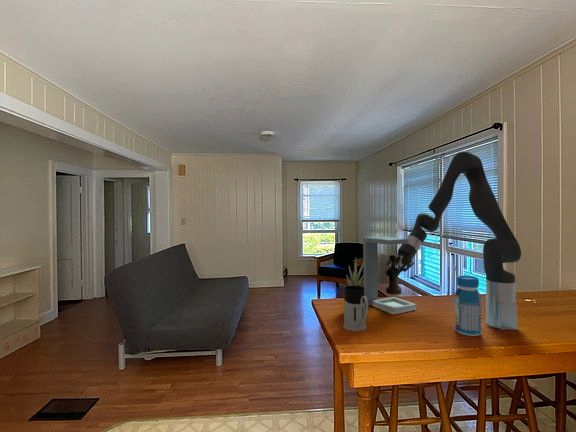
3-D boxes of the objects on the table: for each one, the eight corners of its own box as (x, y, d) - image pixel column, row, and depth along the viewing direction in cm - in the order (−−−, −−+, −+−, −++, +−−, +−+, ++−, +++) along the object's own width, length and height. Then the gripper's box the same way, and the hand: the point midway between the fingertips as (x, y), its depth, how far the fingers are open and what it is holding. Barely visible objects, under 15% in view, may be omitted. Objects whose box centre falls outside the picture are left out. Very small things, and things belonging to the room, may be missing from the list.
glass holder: (359, 321, 124) (359, 284, 124) (378, 335, 110) (378, 293, 110) (339, 324, 122) (339, 286, 122) (356, 338, 108) (356, 295, 108)
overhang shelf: (389, 300, 153) (388, 235, 153) (416, 310, 138) (416, 238, 137) (363, 304, 146) (363, 237, 146) (389, 315, 131) (389, 240, 130)
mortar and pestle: (398, 290, 144) (397, 252, 144) (403, 294, 138) (403, 254, 138) (384, 291, 144) (383, 252, 144) (389, 295, 138) (388, 254, 137)
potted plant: (371, 315, 131) (371, 257, 131) (352, 318, 128) (352, 259, 127) (358, 308, 140) (357, 254, 140) (339, 311, 137) (339, 256, 137)
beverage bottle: (468, 338, 107) (468, 280, 107) (449, 329, 115) (449, 275, 115) (487, 335, 109) (487, 278, 109) (467, 326, 117) (467, 274, 117)
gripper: (394, 241, 150) (375, 268, 145) (417, 243, 137) (397, 273, 132) (402, 251, 153) (383, 278, 148) (426, 254, 140) (406, 284, 135)
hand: (390, 275), depth 140 cm, fingers closed on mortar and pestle, 4 cm apart
